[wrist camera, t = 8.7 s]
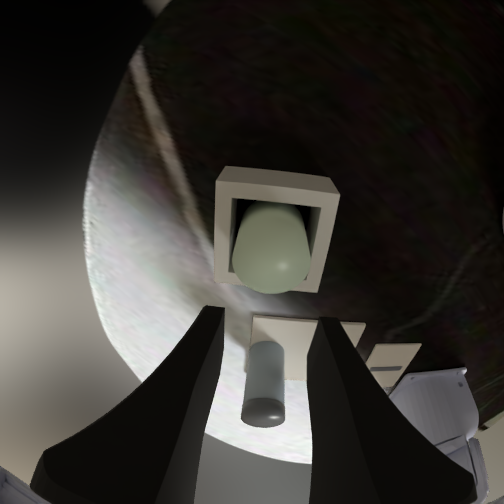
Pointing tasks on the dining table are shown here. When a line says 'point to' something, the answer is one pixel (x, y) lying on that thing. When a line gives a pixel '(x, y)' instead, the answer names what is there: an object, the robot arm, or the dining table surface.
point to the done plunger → (271, 248)
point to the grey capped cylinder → (264, 386)
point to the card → (390, 361)
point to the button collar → (275, 190)
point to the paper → (295, 339)
